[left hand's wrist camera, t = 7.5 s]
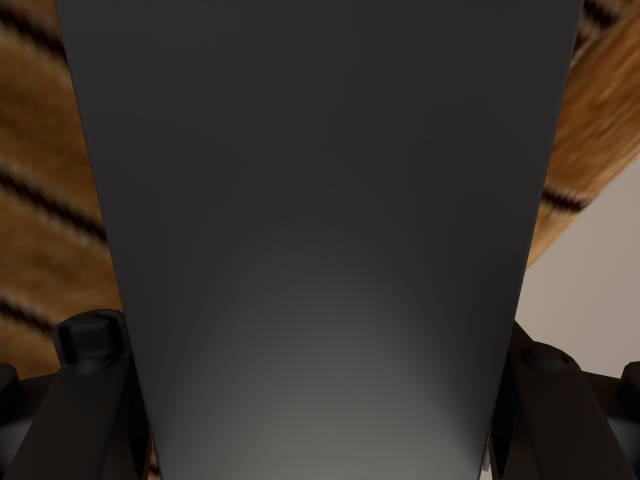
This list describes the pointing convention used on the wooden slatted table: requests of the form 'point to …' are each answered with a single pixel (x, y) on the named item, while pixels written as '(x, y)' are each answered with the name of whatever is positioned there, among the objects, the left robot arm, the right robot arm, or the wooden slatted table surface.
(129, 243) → the bar
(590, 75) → the wooden slatted table surface
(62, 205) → the wooden slatted table surface
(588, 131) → the wooden slatted table surface
